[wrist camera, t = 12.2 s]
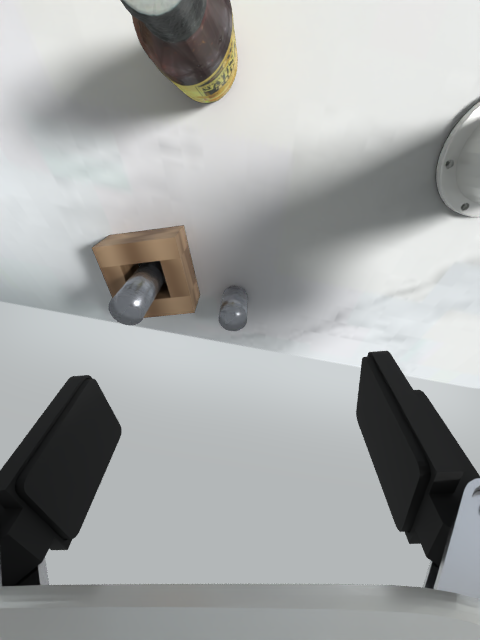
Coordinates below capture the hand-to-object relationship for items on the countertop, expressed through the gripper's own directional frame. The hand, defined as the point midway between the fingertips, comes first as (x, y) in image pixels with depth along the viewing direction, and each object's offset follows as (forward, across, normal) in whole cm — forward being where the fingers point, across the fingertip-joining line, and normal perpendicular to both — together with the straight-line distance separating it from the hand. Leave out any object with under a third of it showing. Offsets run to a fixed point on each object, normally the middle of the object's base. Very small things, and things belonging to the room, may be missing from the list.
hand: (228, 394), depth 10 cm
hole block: (+30, +13, +6) cm, 34 cm away
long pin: (+30, +13, +6) cm, 33 cm away
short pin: (+30, +3, +12) cm, 33 cm away
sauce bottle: (+31, +2, -14) cm, 34 cm away
